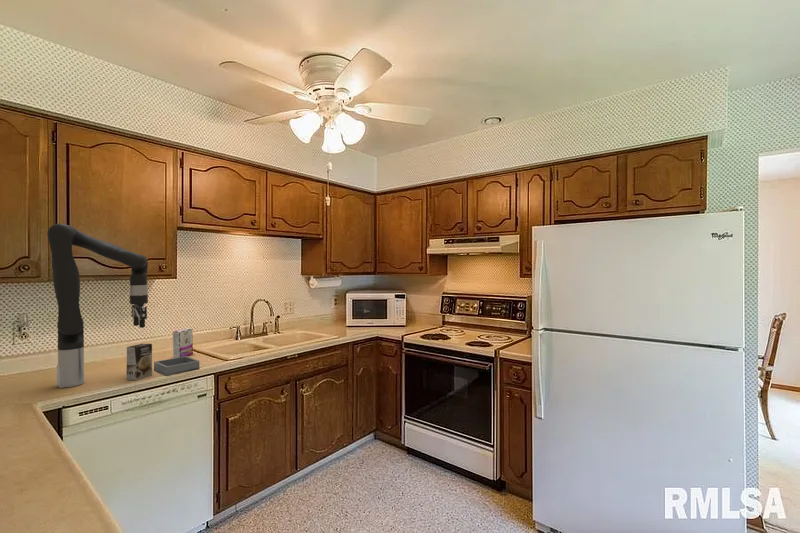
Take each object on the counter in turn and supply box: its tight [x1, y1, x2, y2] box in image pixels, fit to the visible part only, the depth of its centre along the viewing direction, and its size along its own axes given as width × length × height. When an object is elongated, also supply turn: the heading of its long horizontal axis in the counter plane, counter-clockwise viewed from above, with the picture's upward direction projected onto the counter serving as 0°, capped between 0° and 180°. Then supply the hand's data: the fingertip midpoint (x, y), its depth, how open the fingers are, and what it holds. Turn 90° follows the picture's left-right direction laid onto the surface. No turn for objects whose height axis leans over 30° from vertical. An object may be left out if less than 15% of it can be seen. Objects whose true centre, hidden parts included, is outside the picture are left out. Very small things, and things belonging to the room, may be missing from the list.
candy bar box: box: [172, 327, 194, 358], centre depth 229 cm, size 11×5×16 cm, turn 171°
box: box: [153, 356, 200, 377], centre depth 201 cm, size 16×17×4 cm
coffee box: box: [126, 343, 153, 381], centre depth 187 cm, size 9×6×16 cm
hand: (139, 326), depth 187 cm, fingers open, 8 cm apart
